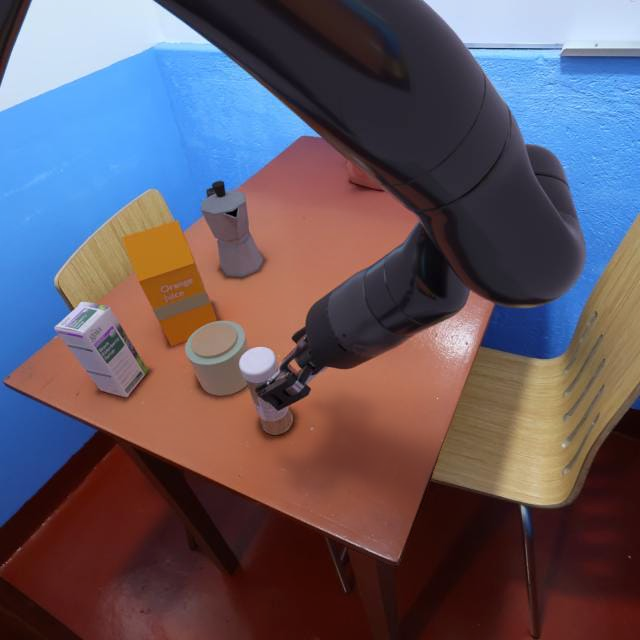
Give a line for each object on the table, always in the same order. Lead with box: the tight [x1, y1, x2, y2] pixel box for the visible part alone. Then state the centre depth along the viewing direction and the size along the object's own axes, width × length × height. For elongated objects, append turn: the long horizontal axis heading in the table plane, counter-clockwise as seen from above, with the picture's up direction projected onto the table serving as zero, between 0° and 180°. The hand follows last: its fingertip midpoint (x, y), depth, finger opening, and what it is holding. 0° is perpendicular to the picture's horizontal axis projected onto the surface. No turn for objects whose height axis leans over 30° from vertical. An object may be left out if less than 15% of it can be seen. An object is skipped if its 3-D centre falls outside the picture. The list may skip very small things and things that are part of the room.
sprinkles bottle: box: [239, 346, 294, 436], centre depth 62 cm, size 5×5×13 cm
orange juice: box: [121, 219, 218, 347], centre depth 77 cm, size 8×9×20 cm
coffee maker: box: [200, 180, 264, 279], centre depth 90 cm, size 15×9×18 cm, turn 31°
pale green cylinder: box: [184, 320, 251, 397], centre depth 72 cm, size 9×9×8 cm
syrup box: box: [53, 301, 149, 398], centre depth 71 cm, size 6×6×14 cm
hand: (280, 367), depth 56 cm, fingers open, 8 cm apart
